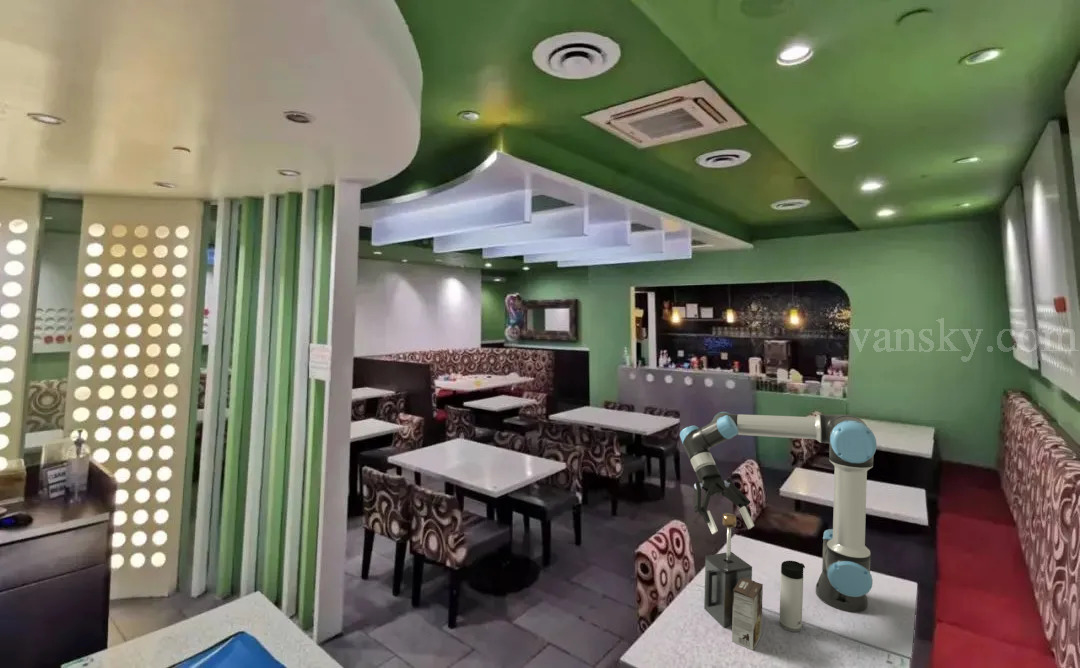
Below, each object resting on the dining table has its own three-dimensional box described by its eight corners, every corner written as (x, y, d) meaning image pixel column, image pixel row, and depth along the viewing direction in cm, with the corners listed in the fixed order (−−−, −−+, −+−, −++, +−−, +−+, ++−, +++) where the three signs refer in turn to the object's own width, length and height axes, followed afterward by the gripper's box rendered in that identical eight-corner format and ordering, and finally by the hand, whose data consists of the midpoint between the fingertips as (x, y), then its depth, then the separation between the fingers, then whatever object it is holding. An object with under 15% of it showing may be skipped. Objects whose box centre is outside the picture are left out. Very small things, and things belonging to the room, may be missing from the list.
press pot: (729, 603, 163) (731, 551, 162) (750, 622, 153) (752, 566, 152) (697, 610, 159) (698, 556, 158) (716, 629, 150) (718, 572, 149)
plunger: (729, 579, 161) (731, 509, 160) (745, 592, 154) (747, 519, 153) (710, 582, 159) (711, 512, 158) (725, 595, 152) (727, 521, 150)
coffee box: (740, 626, 151) (741, 576, 151) (762, 635, 147) (763, 583, 146) (730, 641, 144) (732, 588, 143) (753, 651, 140) (755, 597, 139)
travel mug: (805, 633, 148) (807, 570, 147) (782, 630, 149) (784, 567, 148) (799, 621, 154) (801, 559, 153) (776, 618, 155) (778, 557, 154)
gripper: (730, 470, 173) (759, 529, 159) (669, 476, 166) (694, 539, 152) (741, 460, 168) (772, 520, 154) (678, 466, 161) (704, 530, 147)
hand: (733, 530), depth 153 cm, fingers open, 13 cm apart
